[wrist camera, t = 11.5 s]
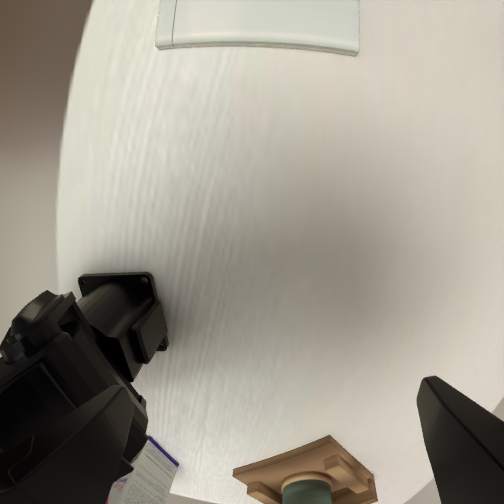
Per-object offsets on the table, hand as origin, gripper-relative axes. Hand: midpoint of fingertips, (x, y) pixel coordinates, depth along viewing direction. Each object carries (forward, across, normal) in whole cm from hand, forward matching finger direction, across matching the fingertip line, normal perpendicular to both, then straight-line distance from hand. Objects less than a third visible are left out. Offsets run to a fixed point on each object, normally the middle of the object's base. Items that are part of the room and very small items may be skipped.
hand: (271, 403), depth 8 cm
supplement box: (+13, +16, +23) cm, 31 cm away
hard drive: (+14, 0, -17) cm, 22 cm away
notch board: (+13, -2, +26) cm, 30 cm away
